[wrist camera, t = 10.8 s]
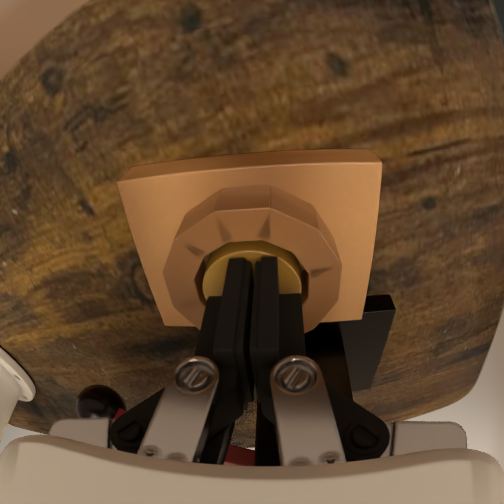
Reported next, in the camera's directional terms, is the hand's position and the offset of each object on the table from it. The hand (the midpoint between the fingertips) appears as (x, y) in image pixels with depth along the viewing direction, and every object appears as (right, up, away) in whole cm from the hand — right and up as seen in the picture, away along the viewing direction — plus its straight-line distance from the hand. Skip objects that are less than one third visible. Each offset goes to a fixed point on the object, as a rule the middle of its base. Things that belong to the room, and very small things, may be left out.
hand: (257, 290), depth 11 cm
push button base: (0, +2, +3) cm, 4 cm away
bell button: (0, +1, +2) cm, 2 cm away
